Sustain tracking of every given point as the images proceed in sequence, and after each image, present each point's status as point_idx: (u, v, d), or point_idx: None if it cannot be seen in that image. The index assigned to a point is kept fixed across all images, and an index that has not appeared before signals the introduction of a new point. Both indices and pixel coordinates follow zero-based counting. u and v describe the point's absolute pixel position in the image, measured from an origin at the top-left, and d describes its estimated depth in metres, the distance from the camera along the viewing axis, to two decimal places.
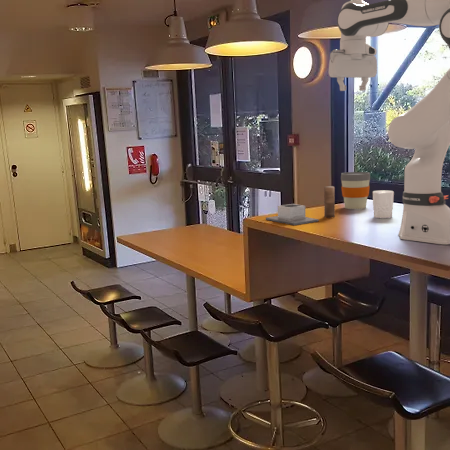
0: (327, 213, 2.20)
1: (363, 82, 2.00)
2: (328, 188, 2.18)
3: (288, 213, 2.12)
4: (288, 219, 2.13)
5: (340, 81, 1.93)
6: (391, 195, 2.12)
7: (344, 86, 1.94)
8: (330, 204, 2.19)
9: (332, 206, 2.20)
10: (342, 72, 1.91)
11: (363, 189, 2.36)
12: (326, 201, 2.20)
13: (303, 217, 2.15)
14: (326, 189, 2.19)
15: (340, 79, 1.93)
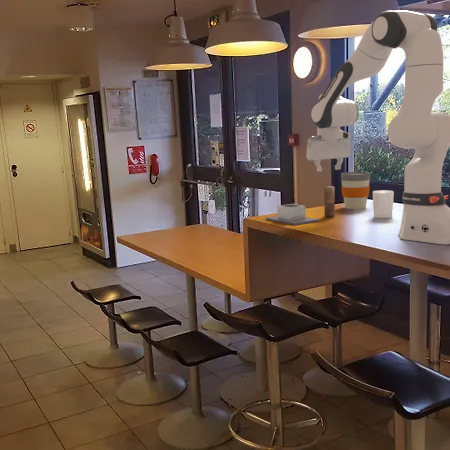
0: (327, 213, 2.20)
1: (338, 162, 2.21)
2: (328, 188, 2.18)
3: (288, 213, 2.12)
4: (288, 219, 2.13)
5: (317, 163, 2.15)
6: (391, 195, 2.12)
7: (320, 168, 2.16)
8: (330, 204, 2.19)
9: (332, 206, 2.20)
10: (319, 156, 2.13)
11: (363, 189, 2.36)
12: (326, 201, 2.20)
13: (303, 217, 2.15)
14: (326, 189, 2.19)
15: (317, 162, 2.15)
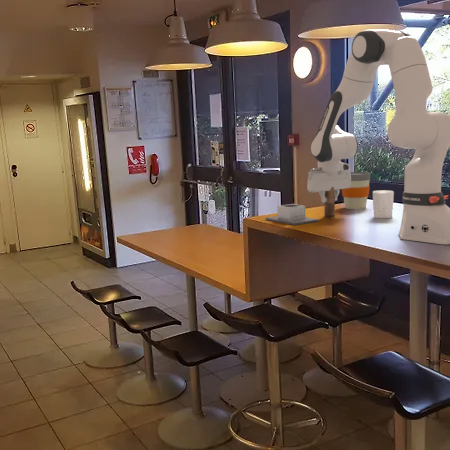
0: (327, 212, 2.20)
1: (335, 193, 2.22)
2: None
3: (288, 213, 2.12)
4: (288, 219, 2.13)
5: (321, 195, 2.18)
6: (391, 195, 2.12)
7: (325, 199, 2.19)
8: (330, 204, 2.19)
9: (332, 206, 2.20)
10: (319, 188, 2.15)
11: (363, 189, 2.36)
12: None
13: (303, 217, 2.15)
14: None
15: (321, 193, 2.18)
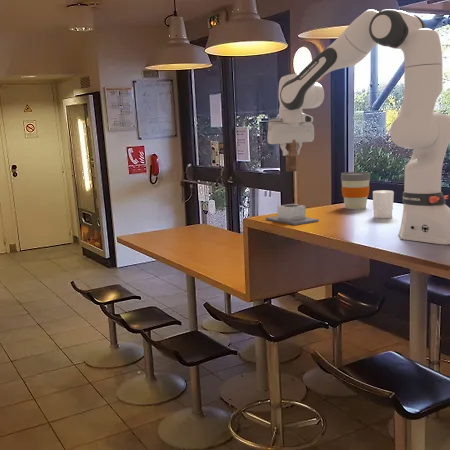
0: (288, 166, 2.13)
1: (297, 147, 2.15)
2: None
3: (288, 213, 2.12)
4: (288, 219, 2.13)
5: (282, 147, 2.10)
6: (391, 195, 2.12)
7: (286, 152, 2.11)
8: (291, 157, 2.11)
9: (294, 159, 2.12)
10: (280, 140, 2.07)
11: (363, 189, 2.36)
12: None
13: (303, 217, 2.15)
14: None
15: (282, 145, 2.10)
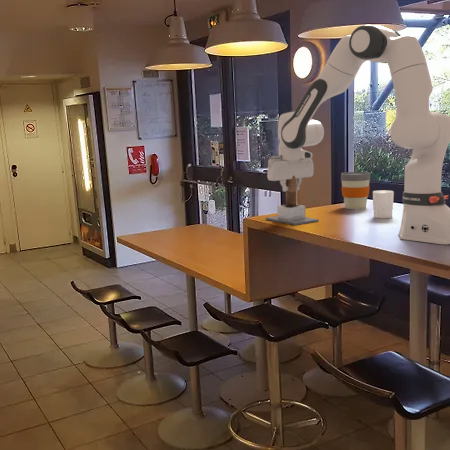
0: (288, 202, 2.15)
1: (297, 182, 2.17)
2: None
3: (288, 213, 2.12)
4: (288, 219, 2.13)
5: (282, 183, 2.12)
6: (391, 195, 2.12)
7: (286, 188, 2.13)
8: (291, 193, 2.14)
9: (293, 195, 2.14)
10: (280, 177, 2.09)
11: (363, 189, 2.36)
12: None
13: (303, 217, 2.15)
14: None
15: (282, 182, 2.12)
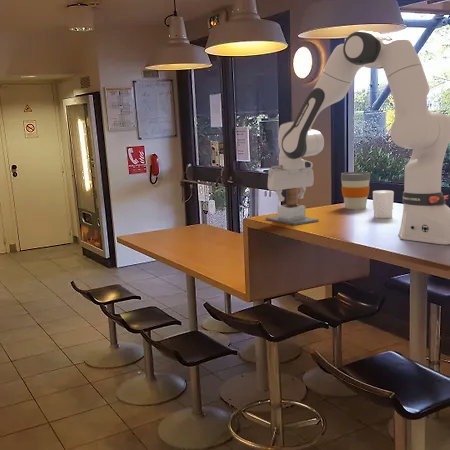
0: None
1: (301, 191, 2.18)
2: (290, 189, 2.13)
3: (288, 213, 2.12)
4: (288, 219, 2.13)
5: (278, 193, 2.12)
6: (391, 195, 2.12)
7: (282, 198, 2.12)
8: (291, 205, 2.14)
9: None
10: (280, 186, 2.10)
11: (363, 189, 2.36)
12: (288, 202, 2.15)
13: (303, 217, 2.15)
14: (288, 190, 2.14)
15: (278, 192, 2.11)
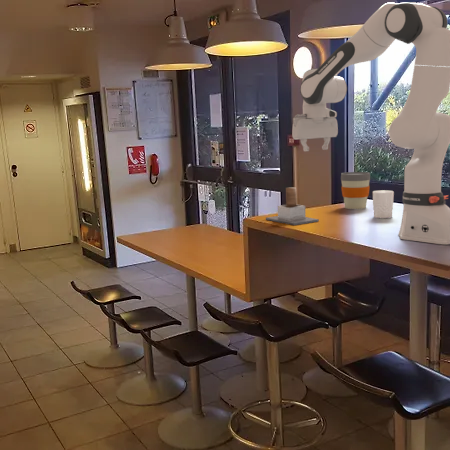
0: None
1: (325, 142, 2.15)
2: (289, 189, 2.13)
3: (288, 213, 2.12)
4: (288, 219, 2.13)
5: (303, 143, 2.08)
6: (391, 195, 2.12)
7: (307, 147, 2.09)
8: (291, 205, 2.14)
9: None
10: (305, 135, 2.07)
11: (363, 189, 2.36)
12: (288, 202, 2.15)
13: (303, 217, 2.15)
14: (287, 190, 2.14)
15: (303, 141, 2.08)
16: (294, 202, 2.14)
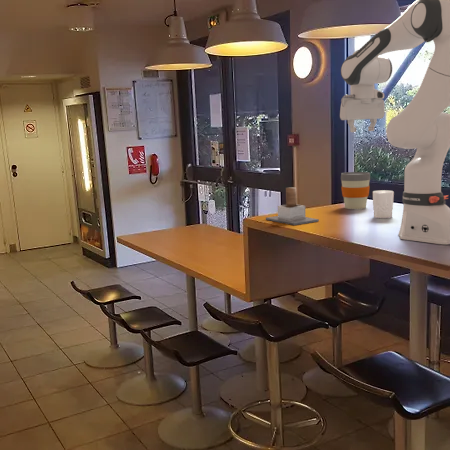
0: None
1: (372, 123, 2.14)
2: (289, 189, 2.13)
3: (288, 213, 2.12)
4: (288, 219, 2.13)
5: (350, 124, 2.08)
6: (391, 195, 2.12)
7: (354, 128, 2.09)
8: (291, 205, 2.14)
9: None
10: (353, 116, 2.06)
11: (363, 189, 2.36)
12: (288, 202, 2.15)
13: (303, 217, 2.15)
14: (287, 190, 2.14)
15: (351, 122, 2.08)
16: (294, 202, 2.14)
